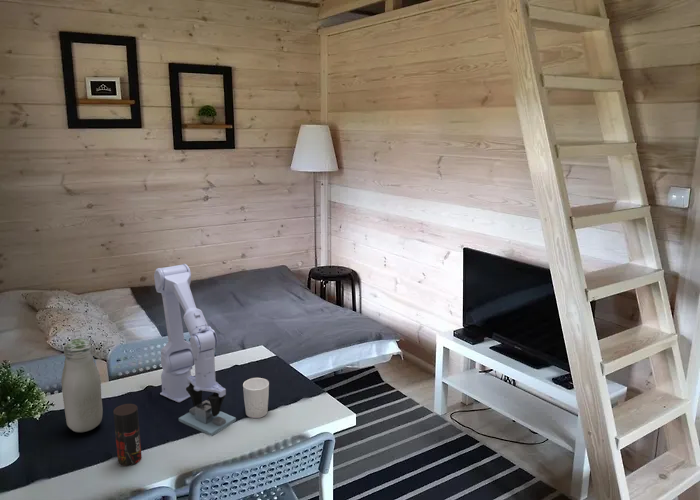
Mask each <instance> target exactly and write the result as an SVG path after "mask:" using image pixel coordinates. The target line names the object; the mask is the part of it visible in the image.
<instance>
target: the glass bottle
mask: <svg viewBox="0 0 700 500" xmlns="http://www.w3.org/2000/svg"><path fill="white" fill-rule="evenodd" d="M63 350H64V351H63V355H64V357H65V358H64V361H63V362H64V366H63V370H62V374H61V393H62V401H63V406H64V408H63V409H64V413H65V419H66V420H65V422H66V426H67V427H68V428H69V429H70V430H71V431H73V432H75V433H85V432H89V431H92V430H94V429H95V428H96V427H98V426H99V425H100V424H101V422H102V419H103V413H104V411H103V400H102V398H103V397H102V381H101V376H100V373H99V370H98V368H97V366H96V363H95V360H94V356H93V352H94V350H93V346H92V343H91V341H90V340H88V338H82V337H81V338H80V337H79V338H76V339H72V340H69V341H68V342H67V343H66V344H65V345H64V347H63Z"/></svg>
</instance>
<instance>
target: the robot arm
mask: <svg viewBox="0 0 700 500" xmlns="http://www.w3.org/2000/svg"><path fill="white" fill-rule="evenodd" d="M191 271H192V270H191V269H190V267H189V266H188V264H186V263H182V264H178V265H172V266H165V267H157V268H156V269H155V271H154V274H153V277H154V280H153V281H154V287H155V290H156V293H159V294H161V297H162V304H163V311H164V318H165V325H166V331H167V333H166V334H167V339H168V340H167V341H168V342H167V343H166V344H165V345H164V346H163V347H162V348H161V349H160V364H161V368H162V372H161V375H160V376H161V377H160V378H161V379H160V380H161V392H160V393H159V394H160V395H161V396H163V397H165V398H168V399H169V400H172V401H173V402H174V401H175V402H177V403H181V402H183V401H185V400H187V399H189V398H190V399H191V400H192V405H194V406H193V407H195V406H196V405H198V404H200V403H202V402H203V392H211V393H212V394H211V395H209V396H207V400H208V401H210V404H211V409H212V415H213V416H216V415H218V414H219V412H220V411H221V408H222V403H223V401H224V399H225V398H226V396H227V389H226V388H225V387H223V386H222V385H221V384H219V382H218V381H216V365H215V363H216V362H215V361H216V360H215V349H216V348H218V336H217V333H216V332H215V331H216V330H214V329H213V328H212V327H211V325H209V324H208V322H207V319H206V318H205V315H204V312H203V310H201V309H199V307H198V308H197V306H196V303H195V299H194V296H193V293H192V291H191V287H190V286H191V282H192V272H191ZM180 306H181V307H180ZM181 308H182V309H183V311H184V312H183V313H184V315H183V321H184V323H185V326H186V328H187V331H188V333H189V336H190V338H189V341H187V340H185V335H184V327H183V321H182V315H181V314H182V313H181ZM193 367H194V372H195V373H194V374H195V375H192V374H191V370H193Z"/></svg>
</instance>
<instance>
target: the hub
mask: <svg viewBox="0 0 700 500" xmlns="http://www.w3.org/2000/svg"><path fill="white" fill-rule="evenodd" d="M205 405H209V407H208V408H206V409H205V408H204V406H205ZM216 417H217V415H216V416H213V415H212V409H211V404H210V401H209V400H208V399H205V400H204V401H203V400H202V403H200V404H198V405H196V406H195V420H198V421H200V422H202V423H204V424H207V423H209V422H211V421H212V420H213V419H215V418H216Z"/></svg>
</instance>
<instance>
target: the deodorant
mask: <svg viewBox="0 0 700 500" xmlns="http://www.w3.org/2000/svg"><path fill="white" fill-rule="evenodd" d="M112 413H113V421H114V432H115V434H114V435H115V443H116V444H115V445H116V453H117V462H118V465H119V466H121V467H131V466H134V465H136V464H138V463H139V462H141V460H142V456H143V455H142V446H141V445H142V442H141V433H140V431H141V430H140V423H139V420H140V419H139V409H138V405H136V404H134V403H123V404H121V405H118V406H116V407H115V408H114V409H113V412H112Z"/></svg>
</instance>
